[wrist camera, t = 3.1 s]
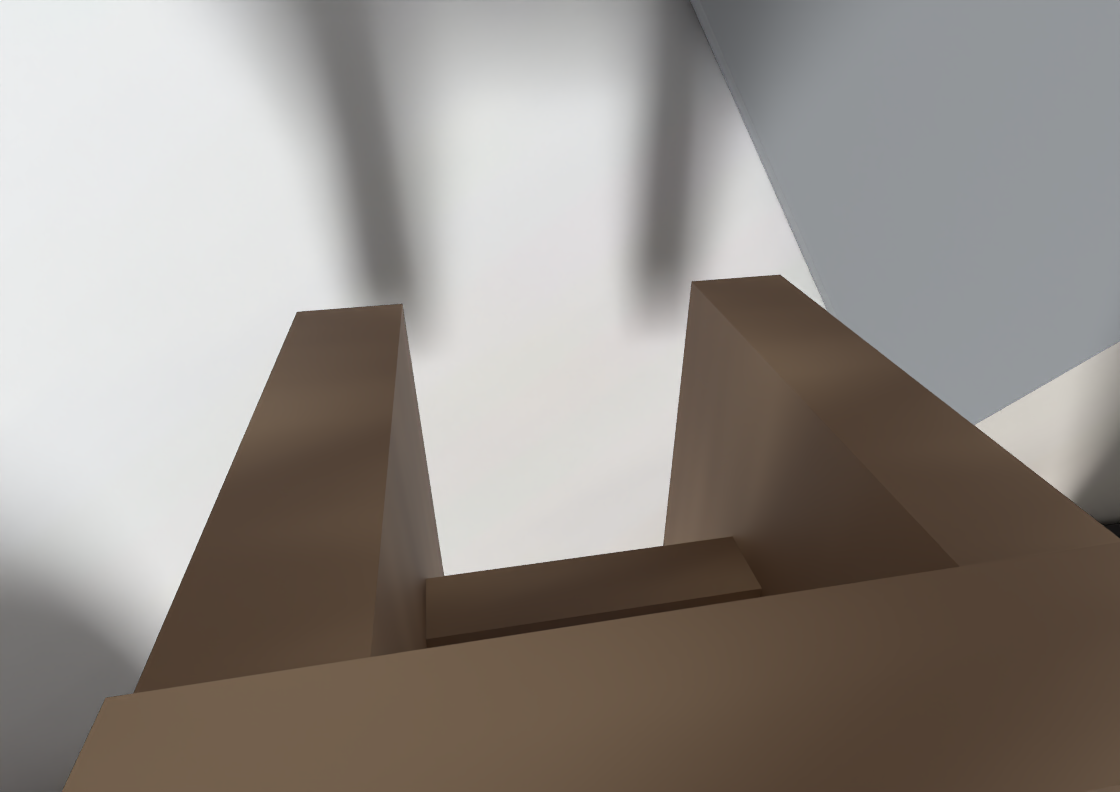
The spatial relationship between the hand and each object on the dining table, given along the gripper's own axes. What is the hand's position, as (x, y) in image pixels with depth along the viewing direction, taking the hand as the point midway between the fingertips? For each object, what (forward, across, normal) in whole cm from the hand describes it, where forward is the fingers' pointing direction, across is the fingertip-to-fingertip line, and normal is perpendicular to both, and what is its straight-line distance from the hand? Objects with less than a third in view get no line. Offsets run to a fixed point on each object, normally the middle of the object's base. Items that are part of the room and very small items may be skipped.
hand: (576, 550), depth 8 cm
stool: (+2, 0, 0) cm, 2 cm away
